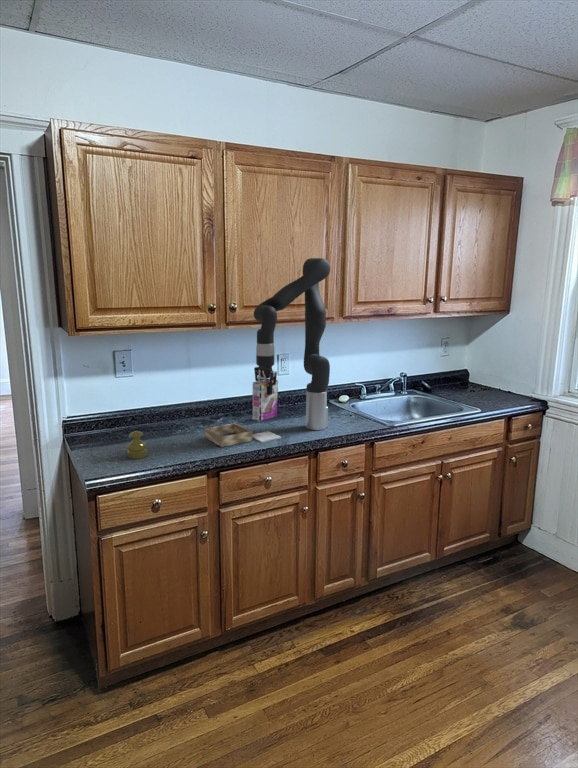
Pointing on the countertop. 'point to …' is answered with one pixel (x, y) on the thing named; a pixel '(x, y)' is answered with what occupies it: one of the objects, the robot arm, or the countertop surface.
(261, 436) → the mat
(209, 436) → the wooden square frame
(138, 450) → the brass calibration weight
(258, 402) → the candy bar box
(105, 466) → the countertop surface
